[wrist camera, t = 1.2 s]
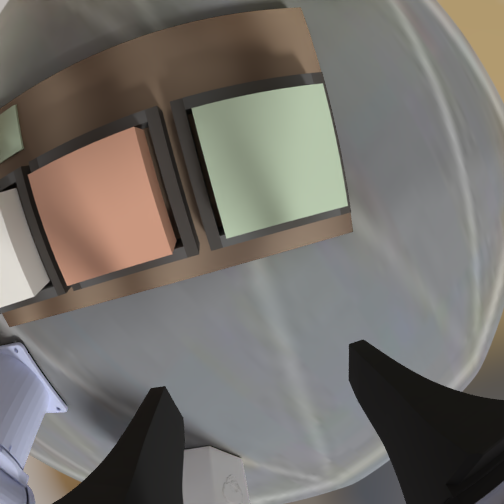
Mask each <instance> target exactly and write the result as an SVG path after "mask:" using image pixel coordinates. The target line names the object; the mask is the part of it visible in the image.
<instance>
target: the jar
mask: <svg viewBox="0 0 504 504" xmlns="http://www.w3.org/2000/svg"><path fill="white" fill-rule="evenodd" d="M182 493H183V504H250V498H249V493H248V488H247V482H246V477H245V471H244V466H243V460H242V458H239V457H237V456H234V455H231V454H229V453H226V452H224V451H221V450H219V449H216V448H214V447H211V446H205V447H199V448H193V449H185V450H184V462H183V482H182Z"/></svg>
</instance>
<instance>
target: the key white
mask: <svg viewBox="0 0 504 504" xmlns="http://www.w3.org/2000/svg"><path fill="white" fill-rule="evenodd" d="M49 281H50V280H49V277H48V275H47V273H46V270H45V268H44V266H43V263H42V261H41V259H40V256H39V254H38V251H37V248H36V246H35V243H34V241H33V238H32V235H31V232H30V229H29V226H28V224H27V221H26V218H25V214H24V211H23V208H22V205H21V201H20V198H19V195H18V191H17V188H14V189H11V190H7V191H4V192H0V308H1V307H4V306H7V305H10V304H13V303H16V302H19V301H22V300H25V299H29V298H32V297H35V295H36V294H37V293H38V292H39V291H40V290H41V289H42V288H43V287H44V286H45V285H46V284H47V283H48V282H49Z"/></svg>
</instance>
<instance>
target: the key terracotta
mask: <svg viewBox="0 0 504 504" xmlns="http://www.w3.org/2000/svg"><path fill="white" fill-rule="evenodd" d="M28 177H29V181H30V185H31V189H32V192H33V196H34V199H35V202H36V206H37V209H38V212H39V215H40V218H41V221H42V224H43V227H44V230H45V232H46V235H47V238H48V241H49V243H50V246H51V248H52V251H53V254H54V256H55V259H56V261H57V263H58V266H59V268H60V270H61V273H62V275H63V277H64V280H65V282H66V284H67V286H69V285H72V284H76V283H79V282H82V281H85V280H88V279H92V278H95V277H98V276H101V275H105V274H108V273H111V272H114V271H118V270H121V269H124V268H128V267H131V266H134V265H138V264H141V263H144V262H148V261H151V260H155V259H158V258H161V257H165V256H168V255H172V254H173V251H174V247H175V244H176V241H177V240H176V237H175V234H174V231H173V228H172V225H171V222H170V219H169V216H168V212H167V209H166V206H165V203H164V199H163V196H162V193H161V189H160V186H159V183H158V179H157V176H156V172H155V169H154V165H153V162H152V158H151V154H150V151H149V147H148V143H147V139H146V135H145V132H144V130H142V129H140V128H137V127H132V128H129V129H126V130H124V131H121V132H118V133H116V134H113V135H111V136H108V137H106V138H103V139H101V140H99V141H96V142H94V143H92V144H89V145H87V146H85V147H82V148H80V149H78V150H76V151H74V152H72V153H69V154H67V155H65V156H63V157H61V158H59V159H57V160H55V161H53V162H51V163H49V164H47V165H45V166H43V167H41V168H40V169H38V170H36V171H34V172H32V173H30V174H28Z"/></svg>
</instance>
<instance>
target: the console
mask: <svg viewBox="0 0 504 504" xmlns="http://www.w3.org/2000/svg"><path fill="white" fill-rule="evenodd" d="M322 83H323V86H324V90H325V94H326V98H327V102H328V106H329V110H330V114H331V119H332V123H333V127H334V132H335V137H336V141H337V146H338V151H339V156H340V162H341V167H342V173H343V178H344V184H345V190H346V196H347V203H348V206H345V207H342V208H338V209H334V210H330V211H326V212H322V213H319V214H315V215H311V216H307V217H304V218H300V219H296V220H293V221H289V222H285V223H281V224H278V225H274V226H270V227H267V228H263V229H260V230H256V231H252V232H249V233H245V234H241V235H238V236H234V237H231V238H227V239H226V235H225V232H224V228H223V224H222V221H221V217H220V214H219V210H218V206H217V203H216V199H215V196H214V192H213V188H212V185H211V181H210V177H209V173H208V170H207V166H206V162H205V159H204V155H203V151H202V147H201V143H200V140H199V136H198V132H197V128H196V124H195V120H194V117H193V113H192V109H191V108H194V107H198V106H202V105H206V104H210V103H214V102H218V101H222V100H226V99H231V98H235V97H240V96H244V95H249V94H254V93H260V92H265V91H271V90H277V89H283V88H290V87H297V86H304V85H313V84H322ZM132 127H137V128H140V129H142V130H144V132H145V135H146V139H147V143H148V147H149V151H150V154H151V158H152V162H153V165H154V169H155V172H156V176H157V179H158V183H159V186H160V189H161V193H162V196H163V199H164V203H165V206H166V209H167V212H168V216H169V219H170V222H171V225H172V228H173V231H174V234H175V237H176V240H177V241H176V244H175V247H174V251H173V254H172V255H168V256H165V257H161V258H158V259H155V260H151V261H148V262H144V263H141V264H138V265H134V266H131V267H128V268H124V269H121V270H118V271H114V272H111V273H108V274H105V275H101V276H98V277H95V278H92V279H88V280H85V281H82V282H79V283H76V284H72V285H69V286H67V284H66V282H65V280H64V277H63V275H62V273H61V270H60V268H59V266H58V263H57V261H56V259H55V256H54V254H53V251H52V248H51V246H50V243H49V241H48V238H47V235H46V232H45V230H44V227H43V224H42V221H41V218H40V215H39V212H38V209H37V206H36V202H35V199H34V196H33V192H32V189H31V185H30V181H29V177H28V174H30V173H32V172H34V171H36V170H38V169H40V168H41V167H43V166H45V165H47V164H49V163H51V162H53V161H55V160H57V159H59V158H61V157H63V156H65V155H67V154H69V153H72V152H74V151H76V150H78V149H80V148H82V147H85V146H87V145H89V144H92V143H94V142H96V141H99V140H101V139H103V138H106V137H108V136H111V135H113V134H116V133H118V132H121V131H124V130H126V129H129V128H132ZM14 188H17V191H18V195H19V198H20V201H21V205H22V208H23V211H24V214H25V218H26V221H27V224H28V226H29V229H30V232H31V235H32V238H33V241H34V243H35V246H36V248H37V251H38V254H39V256H40V259H41V261H42V263H43V266H44V268H45V270H46V273H47V275H48V277H49V280H50V281H49V282H48V283H47V284H46V285H45V286H44V287H43V288H42V289H41V290H40V291H39V292H38V293H37V294H36V295H35V297H32V298H29V299H25V300H22V301H19V302H16V303H13V304H10V305H7V306H4V307H1V308H0V314H1V313H2V314H3V316H4V318H5V320H6V321H7V323H8V325H9V327H12V326H16V325H20V324H23V323H27V322H31V321H35V320H38V319H42V318H46V317H50V316H54V315H57V314H61V313H65V312H68V311H72V310H76V309H80V308H83V307H87V306H91V305H94V304H98V303H102V302H106V301H109V300H113V299H117V298H120V297H124V296H128V295H131V294H135V293H138V292H142V291H146V290H149V289H153V288H157V287H160V286H164V285H167V284H171V283H175V282H178V281H182V280H185V279H189V278H193V277H196V276H200V275H203V274H207V273H210V272H214V271H218V270H221V269H225V268H228V267H232V266H235V265H239V264H242V263H246V262H249V261H253V260H256V259H260V258H263V257H267V256H270V255H274V254H277V253H281V252H284V251H288V250H291V249H295V248H298V247H302V246H305V245H309V244H312V243H316V242H319V241H323V240H326V239H330V238H333V237H336V236H340V235H343V234H347V233H350V232H353V228H352V220H351V209H350V202H349V195H348V189H347V183H346V177H345V172H344V166H343V161H342V155H341V150H340V145H339V140H338V136H337V131H336V126H335V122H334V117H333V113H332V109H331V105H330V101H329V97H328V93H327V89H326V85H325V81H324V78H323V74H322V72H321V69H320V66H319V62H318V59H317V55H316V52H315V49H314V46H313V42H312V39H311V36H310V33H309V30H308V27H307V24H306V21H305V18H304V15H303V12H302V10H301V8H282V9H269V10H259V11H251V12H243V13H236V14H230V15H224V16H218V17H213V18H208V19H203V20H198V21H194V22H190V23H186V24H182V25H178V26H174V27H170V28H167V29H163V30H160V31H156V32H153V33H150V34H147V35H144V36H141V37H138V38H135V39H132V40H129V41H127V42H124V43H121V44H119V45H116V46H114V47H111V48H109V49H106V50H104V51H102V52H99V53H97V54H95V55H92V56H90V57H88V58H86V59H84V60H82V61H79V62H77V63H75V64H73V65H71V66H69V67H67V68H65V69H63V70H62V71H60V72H58V73H56V74H54V75H52V76H51V77H49V78H47V79H45V80H44V81H42V82H40V83H38V84H37V85H35V86H33V87H32V88H30V89H29V90H27V91H25V92H24V93H22V94H21V95H19V96H18V97H16V98H15V99H13V100H12V101H10V102H9V103H7V104H6V105H5V106H3V107H2V108H0V192H4V191H7V190H11V189H14Z"/></svg>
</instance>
